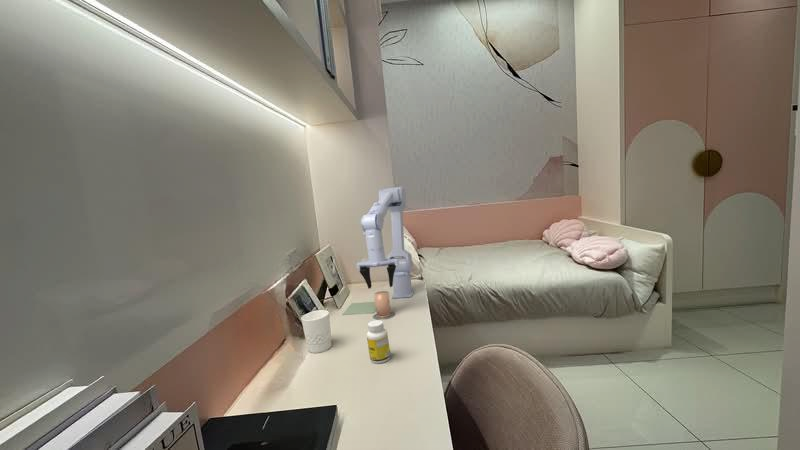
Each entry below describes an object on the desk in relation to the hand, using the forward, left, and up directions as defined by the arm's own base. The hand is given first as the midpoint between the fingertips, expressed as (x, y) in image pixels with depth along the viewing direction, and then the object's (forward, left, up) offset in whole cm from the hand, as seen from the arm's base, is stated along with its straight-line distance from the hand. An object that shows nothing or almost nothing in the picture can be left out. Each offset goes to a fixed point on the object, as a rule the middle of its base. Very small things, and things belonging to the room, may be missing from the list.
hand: (380, 286), depth 121 cm
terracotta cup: (0, 0, -10) cm, 10 cm away
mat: (-9, -11, -10) cm, 17 cm away
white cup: (+23, -15, -11) cm, 29 cm away
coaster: (0, 0, -10) cm, 10 cm away
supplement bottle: (+31, +5, -11) cm, 33 cm away
